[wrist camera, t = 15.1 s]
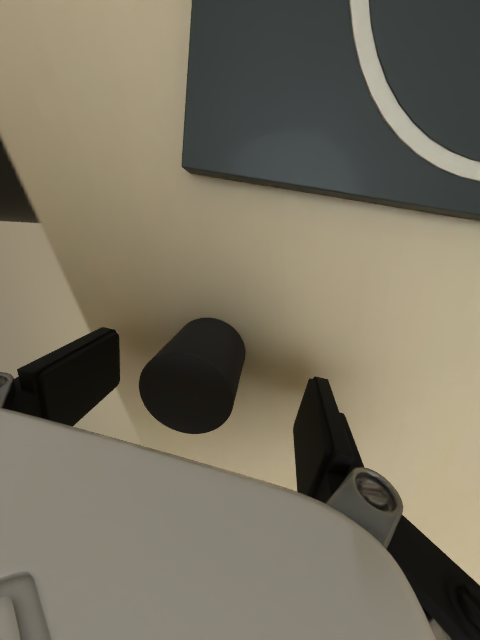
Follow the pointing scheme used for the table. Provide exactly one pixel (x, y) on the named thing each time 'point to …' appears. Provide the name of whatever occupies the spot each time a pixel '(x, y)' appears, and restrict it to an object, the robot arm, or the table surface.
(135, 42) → the table surface
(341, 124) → the face board
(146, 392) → the black cylinder roller
